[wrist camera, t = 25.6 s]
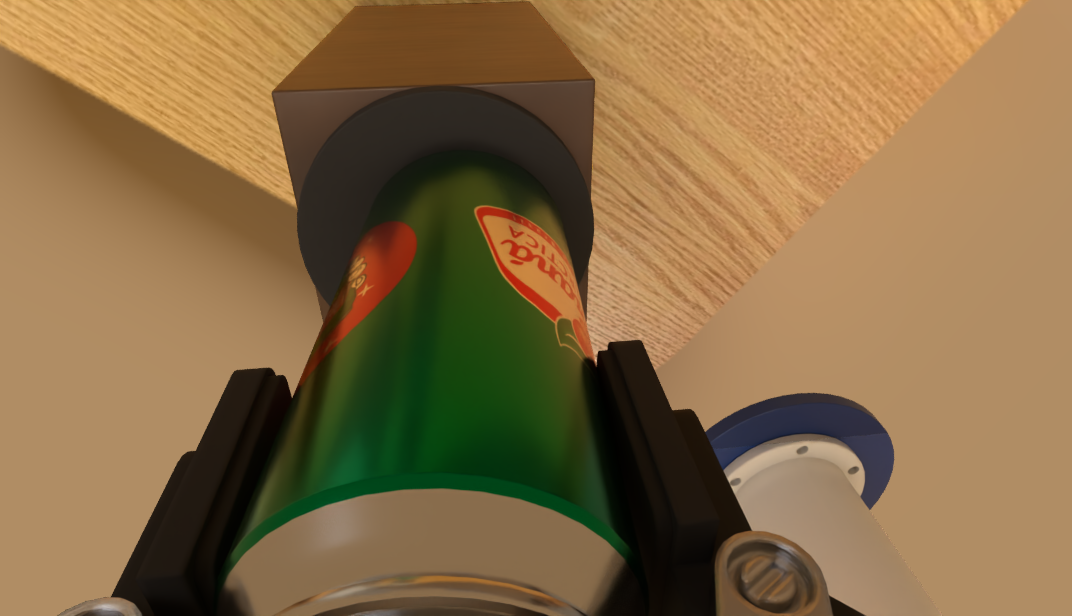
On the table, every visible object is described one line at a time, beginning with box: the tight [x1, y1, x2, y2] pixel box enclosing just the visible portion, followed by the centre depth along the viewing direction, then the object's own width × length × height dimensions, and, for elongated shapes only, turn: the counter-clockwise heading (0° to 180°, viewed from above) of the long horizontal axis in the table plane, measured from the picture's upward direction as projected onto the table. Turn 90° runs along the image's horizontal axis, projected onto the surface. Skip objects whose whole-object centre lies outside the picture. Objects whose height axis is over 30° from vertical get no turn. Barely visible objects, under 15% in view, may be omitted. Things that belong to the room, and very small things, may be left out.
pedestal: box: [272, 2, 595, 323], centre depth 25 cm, size 8×8×16 cm
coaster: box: [297, 86, 594, 306], centre depth 18 cm, size 8×8×1 cm
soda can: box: [213, 150, 650, 616], centre depth 12 cm, size 5×5×12 cm
